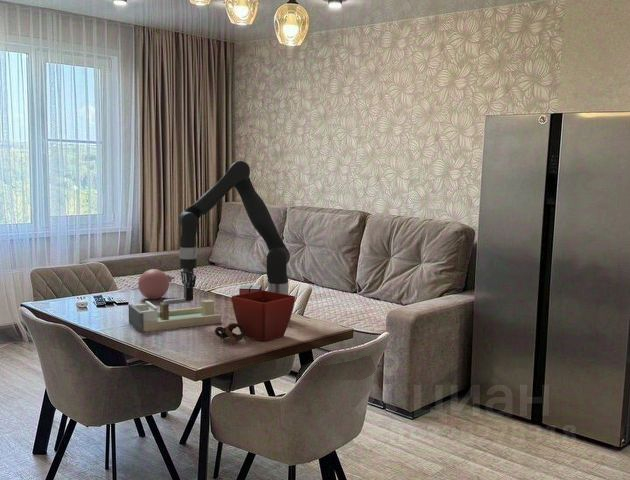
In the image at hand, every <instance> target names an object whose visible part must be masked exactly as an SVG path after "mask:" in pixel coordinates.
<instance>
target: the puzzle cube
mask: <svg viewBox="0 0 630 480" xmlns="http://www.w3.org/2000/svg"><path fill="white" fill-rule="evenodd" d="M262 290H263V286H262V285H260V284H258V285H257V284H256V285H255V284H242V285H241V286H240V288H239V290H238V291H239V294H238V295H240V294H245V293H251V292H256V291H262Z"/></svg>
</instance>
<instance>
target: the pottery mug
mask: <svg viewBox="0 0 630 480" xmlns="http://www.w3.org/2000/svg"><path fill="white" fill-rule="evenodd" d="M236 328H238V329H239V331H240V330H242V331H243V332H242V333H241V332H240V333H238V334H237V333H235V332H233V331H234V329H236ZM214 334H215V335H216V336H217V338H219V339H220V340H221V341H222V340H226V339H227V338H230V341H229V344H230V345H234V344H235V343H238V342H240V341H242V340H244V338H246V337H245V329H244V327H243V326H241V325H240V324H237V322H236V323H235V322H231V323H229V324H228V325H227V326H225V327H223V326H217V327H216V328H215V329H214Z"/></svg>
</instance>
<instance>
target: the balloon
mask: <svg viewBox="0 0 630 480" xmlns="http://www.w3.org/2000/svg"><path fill="white" fill-rule="evenodd" d="M172 280H175V277H174V276H170V274H166V273H165V272H164V271H162V270H160V269H156V268H151V269H148V270H146V271H144V272H143V273H142V274H141V275H140V277H139V278H138V285H137V286H138V290H139V292H140V293H141V295H142V296H143V297H145V298H147V299H150V300H156V299H160V298H162V297H163V296H165V295H166V294H167V292H168V290H169V288H170V287H169V286H170V283H172Z"/></svg>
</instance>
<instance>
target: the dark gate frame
mask: <svg viewBox="0 0 630 480" xmlns="http://www.w3.org/2000/svg"><path fill="white" fill-rule="evenodd" d="M192 301H194V295H193V296H190V297H188V296H187V283H186V281H184V284H183V297H181V298H170V299H163V301H162V302H161V301H160V302H159V311H160V319H162V320H169V310H170V306H169V305H176V304H177V305H178V304H187V303H192Z"/></svg>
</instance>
